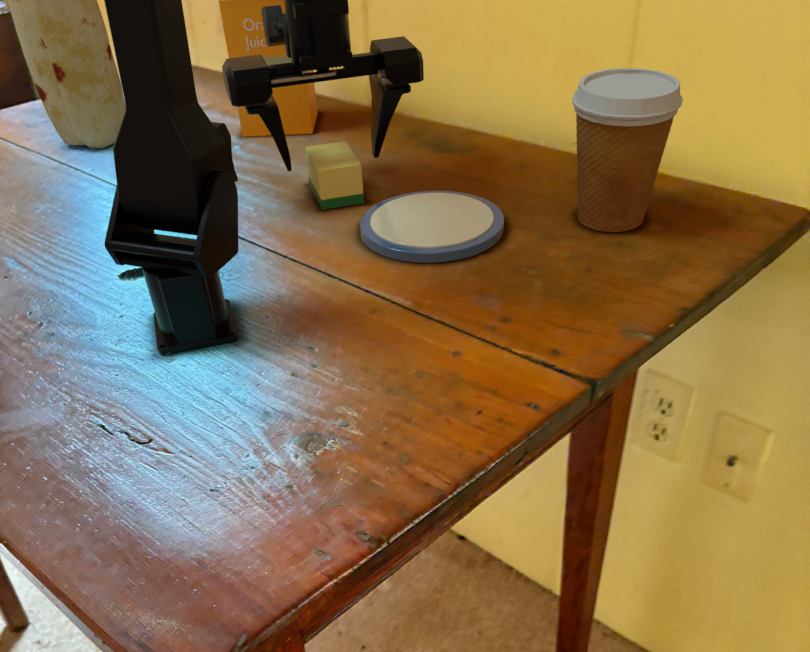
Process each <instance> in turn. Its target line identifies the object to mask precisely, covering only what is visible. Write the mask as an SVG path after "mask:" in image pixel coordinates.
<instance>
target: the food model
mask: <svg viewBox="0 0 810 652" xmlns="http://www.w3.org/2000/svg"><path fill="white" fill-rule="evenodd" d="M7 4H8V6H9V10H10V15H11V19H12V21H13V25H14V28H15V31H16V34H17V37H18V40H19V44H20V46H21V50H22V53H23V56H24V59H25V62H26V64H27V67H28V70H29V73H30V75H31V78H32V81H33V84H34V86H35V88H36V91H37V94H38V96H39V98H40V101H41V103H42V106H43V108H44V110H45V112H46V114H47V116H48V118H49V121H50V122H51V124H52V126H53V128H54V129H55V131H56V133H57V134H58V135H59V137H60V139H61V141H62V142H63V143H64V144H65V145H69V146H87V147H88V148H90V149H104V148H106V147H108V146H111V145H113V144H115V141H116V138H117V135H118V132H119V128H120V125H121V122H122V119H123V116H124V113H125V110H126V107H125V99H124V94H123V89H122V84H121V79H120V75H119V70H118V67H117V63H116V61H115V58H114V55H113V50H112V46H111V42H110V39H109V34H108V30H107V27H106V24H105V21H104V18H103V14H102V11H101V9H100V5H99V2H98V0H7Z"/></svg>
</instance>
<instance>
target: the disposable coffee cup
mask: <svg viewBox="0 0 810 652" xmlns="http://www.w3.org/2000/svg"><path fill="white" fill-rule="evenodd" d="M683 101H684V98H683V96H682V95H681V83H680V81H679V78H676V77H675V76H674V75H672V74H669V73H666V72H663V71H659V70H655V69H654V70H653V69H647V68H639V67H618V68H617V67H616V68H607V69H602V70H597V71H593V72H591V73H588V74H586V75H584V76H583V77H581V78H580V80H579V81H578V85H577V89H576V91H575V92H574V93H573V94H572V96H571V102H572V105H573V110H574V113H575V114H576V115H575V116H576V117H575V122H576V123H575V124H576V125H575V126H576V127H575V129H576V134H575V135H576V180H577V181H576V183H577V184H576V186H577V189H576V190H577V197H576V198H577V220H578V221H579V223H580V224H581V225H582V226H584V227H585V228H588V229H592V230H594V231H598V232H607V233H620V232H627V231H631V230H634V229H636V228H638V227H640V226H641V225H642V224H643V223H644V220H645V215H646V213H647V208H648V206H649V202H650V199H651V195H652V192H653V188H654V185H655V182H656V179H657V175H658V171H659V168H660V165H661V162H662V159H663V155H664V152H665V148H666V146H667V142H668V139H669V135H670V133H671V128H672V125H673V121H674V118H675V116H676V115H677V114H678V112H679V109H680V108H681V107H682V105H683Z"/></svg>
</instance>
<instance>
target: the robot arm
mask: <svg viewBox="0 0 810 652" xmlns="http://www.w3.org/2000/svg"><path fill="white" fill-rule="evenodd" d="M284 3H285V14H283V13H282V8H281V6H280V5H275V6H266V7H262V9H261V12H262V20H263V27H264V33H265V39H266V43H267V46H268V47H269V46H277V45H285V48H286V55H287V56H288V58H292V62H291V63H283V64H275V65H267V64H266V62H265V61H264V59H263V57H262V55H261V54H260V55H252V56H244V57H236V58H229V57H227V58H226V59H225V61H224V62H223V64H222V66H221V71H222V76H223V81H224V82H223V83H224V88H225V91H226V94H227V97H228V99H229V101H230V104H231V106H232V107H236V108H238V107H241V106H245V109H246V111H247V113H248V114H251V115H254V114H258V115H259V116H260V117H261V119H262V120H263V122H264V124H265V125H266V127H267V129H268V130H269V132H270V133H271V135H270V136H271V137H272V139H273V141H274V142H275V146H276V149H277V150H278V153H279V155H280V157H281V159H282V161H283V163H284V166H285V168H286V170H287V172H292V170H293V169H292V159H291V155H290V149H289V146H288V142H287V137H286V135H285V133H284V129H283V125H282V121H281V117H280V113H279V108H278V105H277V103H276V101H275V99H274V98H273V96H272V93H273V90H272V88H277V87H284V86H292V85H299V84H307V83H314V84H315V83H320V82H329V81H336V80H343V79H351V78H359V77H366V76H368V81H369V88H370V94H371V98H370V99H371V103H370V105H371V107H370V108H371V111H370V113H371V114H370V115H371V116H370V142H371V143H370V144H371V153H372V156H373V158H374V159H378V158H379V157H380V154H381V151H382V148H383V145H384V142H385V139H386V135H387V132H388V129H389V127H390V123H391V121H392V119H393V116H394V114H395V111H396V110H397V107H398V105H399V104H400V101H401V99H402V96H403V95H405V94H409V93H411V92H412V85H411V84H415V83H421V82H422V81H424V80H425V79H424V77H425V76H424V73H425V72H424V59H423V54H422V52H421V51H420V50H419V48H418V47H416V45H415V44H413V43H412V42H411V41H410V40H409V39H408V38H406V37H405V36H403V35H402V36H395V37H388V38H387V37H386V38H379V39H372V40H370V46H369V51H367V52H362V53H361V52H360V53H354V54H353V52H352V46H351V45H352V44H351V32H350V21H349V19H350V18H349V14H350V11H349V10H350V8H349V0H284ZM104 6H105V11H106V17H107V21H108V26H109V30H110V35H111V41H112V45H113V51H114V55H115V59H116V66H117V71H118V75H119V78H120V82H121V87H122V92H123V97H124V102H125V107H126V110H125V113H124V116H123V119H122V122H121V125H120V128H119V132H118V135H117V138H116V141H115V142H114V143H113V148H112V152H113V153H112V154H113V163H114V169H115V179H116V187H115V192H114V196H113V201H112V206H111V210H110V215H109V220H108V224H107V229H106V234H105V238H104V248H105V250H106V251H107V253H108V255H109V257H111V258H112V260H113V262H114V263H115V264H116V265H117V266H131V267H137V268H141V270H142V274H143V276H144V280H145V283H146V287H147V290H148V293H149V296H150V297H149V298H150V300H151V304H152V307H153V310H154V312H153V314H152V315H153V323H154V332H155V333H154V334H155V342H156V349H157V352H158V354H160V355H167V354H172V353H177V352H183V351H188V350H193V349H198V348H204V347H210V346H216V345H220V344H226V343H231V342H235V341H237V340H239V338H240V336H239V332H238V328H237V324H236V321H235V317H234V313H233V312H234V311H233V309H232V304H231V301H230V299H227V298H225V294H224V290H223V285H222V280H221V276H220V272H219V271H220V270H221V269H223V267H225V266H226V264H228V263H229V262H230V261H232V259H234V257H235V256H237V255H238V254H239V196H238V187H237V184H236V183H237V182H238V180H239V178H238V177H239V176H238V175H237V172H236V169H235V165H234V160H233V150H232V148H233V147H232V136H231V133H230V131H229V129H228V126H227V124H226V123H225V122H218V121H217V122H216V121H215V122H214V121H211V119H210V118H209V116H208V115H207V114H206V112H205V111H204V108H202V106H201V105H200V103H199V102H198V96H197V91H196V85H195V77H194V71H193V65H192V58H191V52H190V45H189V40H188V33H187V27H186V19H185V13H184V7H183V0H104ZM310 70H312V71H313V72H311V73H310V72H308V73H303V74H302V71H310ZM155 231H161V232H168V233H176V234H184V235H190V236H196V238H190V237H183V236H175V235H169V234H168V235H167V234H160V233H155Z"/></svg>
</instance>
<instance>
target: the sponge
mask: <svg viewBox="0 0 810 652" xmlns="http://www.w3.org/2000/svg"><path fill="white" fill-rule="evenodd" d="M304 152H305V158H306V159H305V160H306V168H307V175H308V184H309V186H310V188H311V190H312V192H313V195H314V197H315V198H316V201H317V202H318V204H319V206H320V208H321V210H324V211H325V210H330V209H337V208H343V207H350V206H357V205H361V204H365V193H364V183H363V182H364V181H363V170H362V163H361V161H360V160H359V159H358V157H357V156H356V154H355V152H353V149H352V147H350V145H349V143H348V142H347V140H344V141H335V142H330V143H323V144H315V145H309V146H305V147H304Z"/></svg>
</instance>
